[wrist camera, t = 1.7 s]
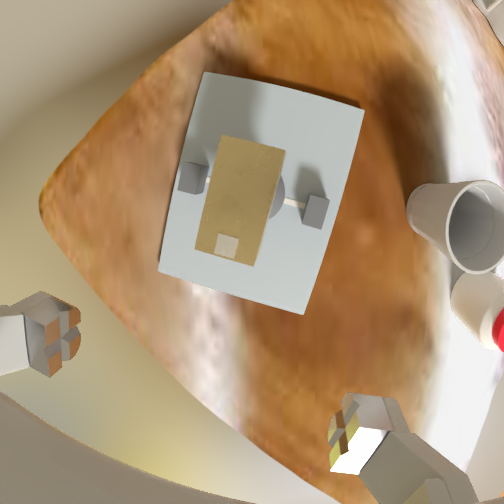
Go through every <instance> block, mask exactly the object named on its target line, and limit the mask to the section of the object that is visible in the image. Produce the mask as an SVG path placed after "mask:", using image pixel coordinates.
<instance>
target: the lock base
mask: <svg viewBox="0 0 504 504" xmlns="http://www.w3.org/2000/svg"><path fill="white" fill-rule="evenodd" d="M364 111H365V110H362V109H359V108H356V107H353V106H350V105H347V104H344V103H341V102H337V101H334V100H331V99H327V98H324V97H321V96H317V95H313V94H310V93H306V92H302V91H298V90H295V89H291V88H286V87H282V86H278V85H274V84H269V83H265V82H260V81H255V80H250V79H245V78H239V77H234V76H228V75H222V74H216V73H209V72H204V74H203V77H202V81H201V84H200V87H199V91H198V94H197V98H196V101H195V105H194V108H193V112H192V116H191V119H190V123H189V127H188V131H187V135H186V138H185V142H184V146H183V150H182V155H181V159H180V163H179V167H178V172H177V176H176V180H175V185H174V189H173V194H172V199H171V204H170V208H169V213H168V218H167V223H166V229H165V234H164V239H163V245H162V251H161V256H160V262H159V268H158V272H161V273H164V274H167V275H170V276H173V277H177V278H180V279H183V280H186V281H189V282H192V283H196V284H199V285H202V286H205V287H208V288H212V289H215V290H218V291H222V292H225V293H228V294H232V295H235V296H238V297H242V298H245V299H248V300H252V301H255V302H259V303H262V304H266V305H269V306H273V307H276V308H280V309H283V310H287V311H291V312H294V313H298V314H302V315H304V312H305V309H306V306H307V303H308V301H309V298H310V295H311V292H312V289H313V286H314V283H315V280H316V277H317V274H318V271H319V268H320V265H321V262H322V259H323V256H324V253H325V250H326V247H327V244H328V241H329V237H330V234H331V231H332V228H333V225H334V221H335V218H336V215H337V211H338V208H339V205H340V201H341V198H342V194H343V191H344V188H345V184H346V180H347V177H348V173H349V170H350V166H351V162H352V159H353V155H354V151H355V147H356V143H357V140H358V136H359V132H360V128H361V124H362V120H363V115H364ZM221 135H226V136H231V137H235V138H240V139H244V140H248V141H252V142H256V143H260V144H264V145H268V146H272V147H276V148H280V149H284V150H286V157H285V161H284V164H283V168H282V172H281V175H280V179H279V183H278V187H277V190H276V194H275V198H274V201H273V205H272V209H271V212H270V216H269V219H268V223H267V227H266V230H265V234H264V238H263V241H262V245H261V249H260V252H259V255H258V258H257V260H256V263H255V265H254V267H253V266H249V265H246V264H242V263H239V262H235V261H232V260H229V259H225V258H222V257H218V256H215V255H211V254H208V253H205V252H201V251H198V250H195V249H194V248H195V243H196V238H197V234H198V229H199V225H200V220H201V216H202V212H203V207H204V203H205V199H206V194H207V190H208V186H209V182H210V178H211V174H212V170H213V166H214V162H215V158H216V154H217V150H218V146H219V142H220V138H221Z"/></svg>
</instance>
